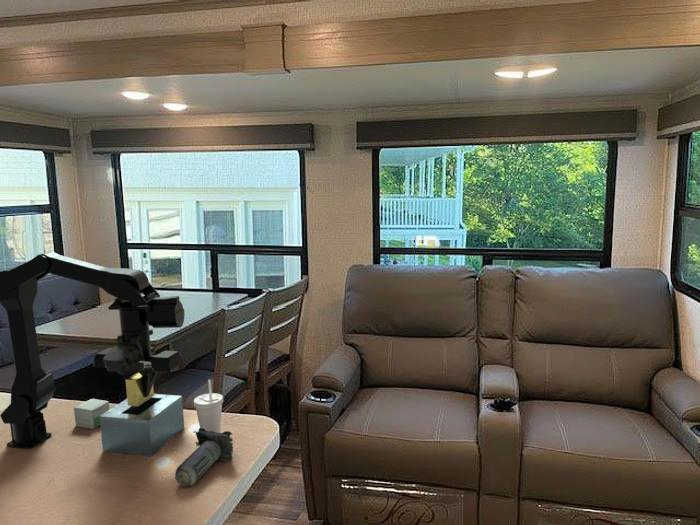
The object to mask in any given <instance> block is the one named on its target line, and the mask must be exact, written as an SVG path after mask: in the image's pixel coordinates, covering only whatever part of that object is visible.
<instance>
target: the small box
mask: <svg viewBox="0 0 700 525" xmlns="http://www.w3.org/2000/svg"><path fill="white" fill-rule="evenodd" d="M108 410H110V401H108V400H102V399H97V398H90V399H89V400H86V401H85V402H82V403H80V404H79V405H77V406H74V407H73V412H74V420H75V421H74V422H75V427H81V428H85V429H92V430H93V429H95V428H97V427H98V426H100V418H99V416H100V415H102V414H104V413H105V412H107V411H108Z"/></svg>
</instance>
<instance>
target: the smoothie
mask: <svg viewBox="0 0 700 525" xmlns="http://www.w3.org/2000/svg"><path fill="white" fill-rule="evenodd" d="M207 383H208V384H207V386H208V393H204V394H200V395H198V396H195V398H194V399H193V406H194V408H195V410H196V416H197V421H198V425H199V428H204V429H205V430H206V431H208V432H209V431H212V432H213V431H214V432H215V433H216V432H217V433H221V426H222V425H221V421H222V411H223V410H222V409H223V408H222V407H223V403H224V397H223V394H220V393H214V392H212V381H211V379H208V380H207Z"/></svg>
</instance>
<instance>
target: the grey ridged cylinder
mask: <svg viewBox="0 0 700 525" xmlns="http://www.w3.org/2000/svg"><path fill="white" fill-rule="evenodd" d="M193 433H195V436H196V439H197V441H195V446H197V447H198V448H196V449H195V450H194V451H193V452H192V453H191V454H190V455H189V456H187V458H186V459H185V460H183V461H182V463H181V464H180V465H179V466H177V468H176V469H175V474H174V475H175V477H174V478H175V481H176V483H177V484H179V485H180V487H183V488H186V487H191V486H193V485H195V483H197V481H198V480H200V478H201V477H203V475H204V474H205V473H206V472H207V471H208V470H209V469H210V468H211V467H212V465H213V464H214V463H216V462H217V460H219V461H224V462H229V463H231V462H232V461H233V458H234V457H233V453H234V444H233V437H231V436H233V433H232V432H231V431H223V432H220V433H217V432H216V433H215V432H214V431H213V432H212V431H209V432H208V431H206V430H205V429H204V428H200V427H199V428H198V430H194V431H193Z"/></svg>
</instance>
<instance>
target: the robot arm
mask: <svg viewBox="0 0 700 525" xmlns="http://www.w3.org/2000/svg"><path fill="white" fill-rule="evenodd" d="M49 274H50V275H53V276H58V277H61V278H64V279H69V280H72V281H76V282H79V283H83V284H87V285H92V286H95V287H97V288H99V289H102V290H103V291H104V292H105V293H106V294H108V295H110V296H112V297H114V298H115V299H114V301H113V302H112V303H111V305H109V306H108V308H107V309H108V310H109V311H111V310H112V311H114V310H115V311H116V310H117V311H118V313H119V314H118V315H119V323H120V334H118V335H117V338H116V345H115V346H113V347H107V348H106V349H103V350H100V351H99V352H97V353H95V355H94V356H93V358H92V359H93V360H92V361H93V362H92V363H93V367H94V368H102V369H103V368H106V370H107V372H110V373H113V372H116V373H118V374H119V375H121V376H122V378H123V379H124V381H125V382H126V380H125V379H127V378H129V377H131V376H132V375H134V374H136V373H138V372H139V373H140V374H141V375H142V381H143V392H144V396H145V397H147V396H149V393H150V391H151V388H152V385H153V386H154V382H155V380H156V377H157V375H158V373H159V372H169V371H172V370H173V369H175V368H176V367H178V366H180V365H181V364H183V356H182V353H180V351H178V350H176V351H175V350H164V351H162V352H159V353H158V354H153V353H154V352H155V350H156V349H155V346H152V345H151V336H152V335H153V334H154V330H153V329H172V328H174V329H177V328H178V329H179V328H182V327H183V325H184V323H185V322H184V321H185V308H184V306H183V304H182V302H181V301H180V296H178V295H173V296H167V297H166V296H163V297H162V296H161V295H160V293H159V292H158V291H157V290H156V289H155V287H153V285H152V284H151V283H150V280H149V278H148V276H147V274H146V272H144V271H143V270H142V269H135V268H125V267H124V268H120V267H119V268H115V267H114V268H112V267H106V266H102V265H98V264H94V263H90V262H88V261H83V260H80V259H75V258H72V257H69V256H65V255H61V254H59V253H56V252H54V251H48V252H44V253H40V254H37V255H36V256H35V257H33V258H31V259H30V260H28V261H26V262H24V263H22V264H20V265H18V266H16V267H13V268H8V269H4V270H1V271H0V305H1V306H2V307H3V308H4V309H5V311H6V316H7V317H6V318H7V323H8V330H9V335H10V341H11V349H12V355H13V356H12V357H13V362H14V368H15V376H14V378H13V379H14V380H13V382H12V385H11V388H10V404H9V405H8V406H7V407H6V408H5V409H4V410H3V412H2V413H0V419H1V420H2V422H3V424H9V426H10V434H11V440H10V441H9V442H7V443H6V447H11V448H19V449H21V448H22V449H31V448H33V447H35V446H37V445H38V444H40V443H41V442H43V441H44V440H45V441H46V439H48V438H50V437H52V432H47V425H46V420H45V417H44V412H41V411H43V410H44V409H47V407H48V404H49V402H50V400H52V398H53V397H54V392H55V391H56V390H57V388H56V386H55V383H54V379H55V378H54V374H53V373H48V374H47V372H45V371H44V369H43V367H42V363H41V357H40V349H39V343H38V336H37V329H36V328H37V327H36V323H35V316H34V310H33V309H34V308H33V306H34V303H35V301H36V297H37V294H38V283H39V282H38V281H40V280H43V279H44V278H45V277H46V276H48V275H49ZM150 326H151V327H152V328H153V329H151V328H150ZM140 364H143V368H142V369H140V366H139V365H140Z"/></svg>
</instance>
